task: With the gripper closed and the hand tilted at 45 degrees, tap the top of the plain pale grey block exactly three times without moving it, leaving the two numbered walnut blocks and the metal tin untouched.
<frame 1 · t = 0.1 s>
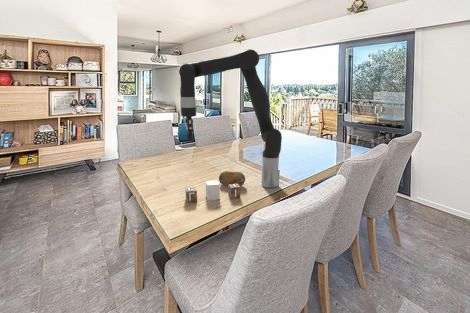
hand: (189, 138, 137), 29 cm above the table, tool pointing down, fingers open, 8 cm apart
walnut block 7: (191, 200, 133), on the table
plain block: (212, 197, 137), on the table
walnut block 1: (234, 196, 139), on the table
tin: (232, 185, 155), on the table
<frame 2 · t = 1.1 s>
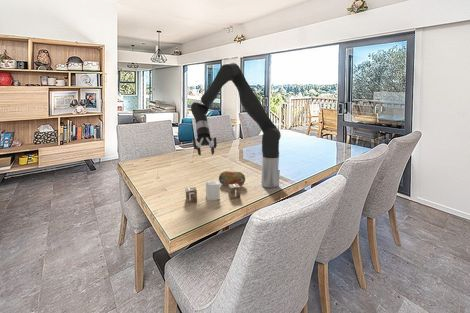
hand: (206, 154, 149), 18 cm above the table, tool tilted 45°, fingers open, 6 cm apart
nothing on the table moved.
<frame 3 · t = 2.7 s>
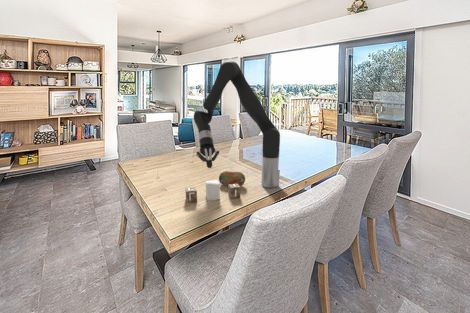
hand: (209, 167, 141), 14 cm above the table, tool tilted 45°, fingers closed
nothing on the table moved.
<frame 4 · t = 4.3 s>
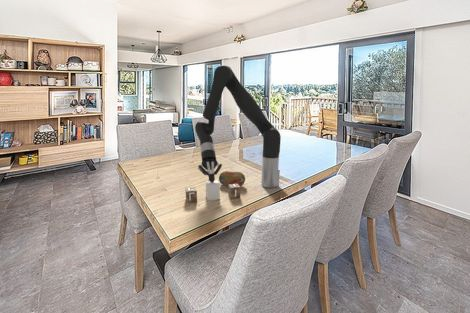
hand: (212, 181, 135), 8 cm above the table, tool tilted 45°, fingers closed
plain block: (212, 197, 137), on the table, touching gripper
everything else where it was.
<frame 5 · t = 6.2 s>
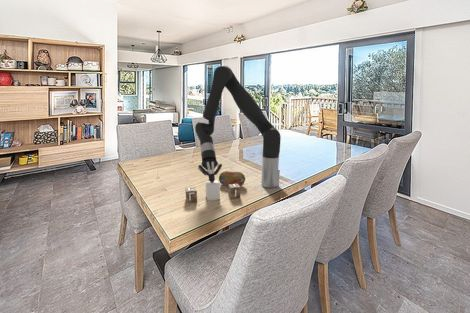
hand: (212, 181, 135), 8 cm above the table, tool tilted 45°, fingers closed
nothing on the table moved.
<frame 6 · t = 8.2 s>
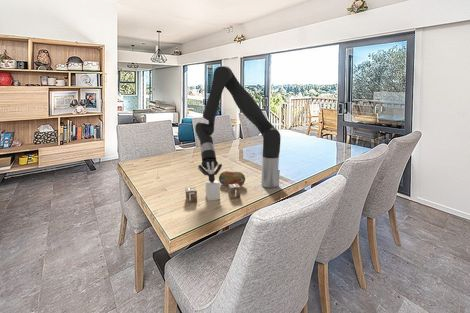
hand: (212, 181, 135), 8 cm above the table, tool tilted 45°, fingers closed
nothing on the table moved.
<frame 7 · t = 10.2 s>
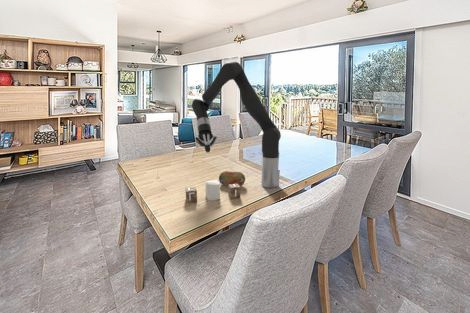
hand: (208, 151, 150), 20 cm above the table, tool tilted 45°, fingers closed
plain block: (212, 197, 137), on the table
everything else where it was.
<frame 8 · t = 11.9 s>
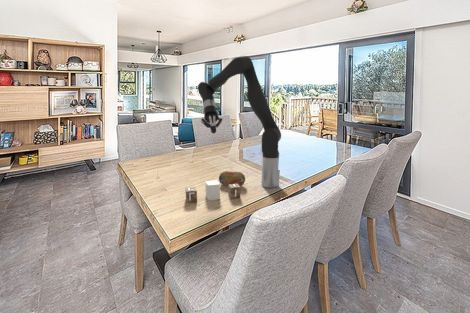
hand: (213, 132, 151), 30 cm above the table, tool tilted 45°, fingers closed
nothing on the table moved.
at the end: plain block moved 0.1 cm from its start; plain block tilted 0°; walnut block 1 moved 0.1 cm from its start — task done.
